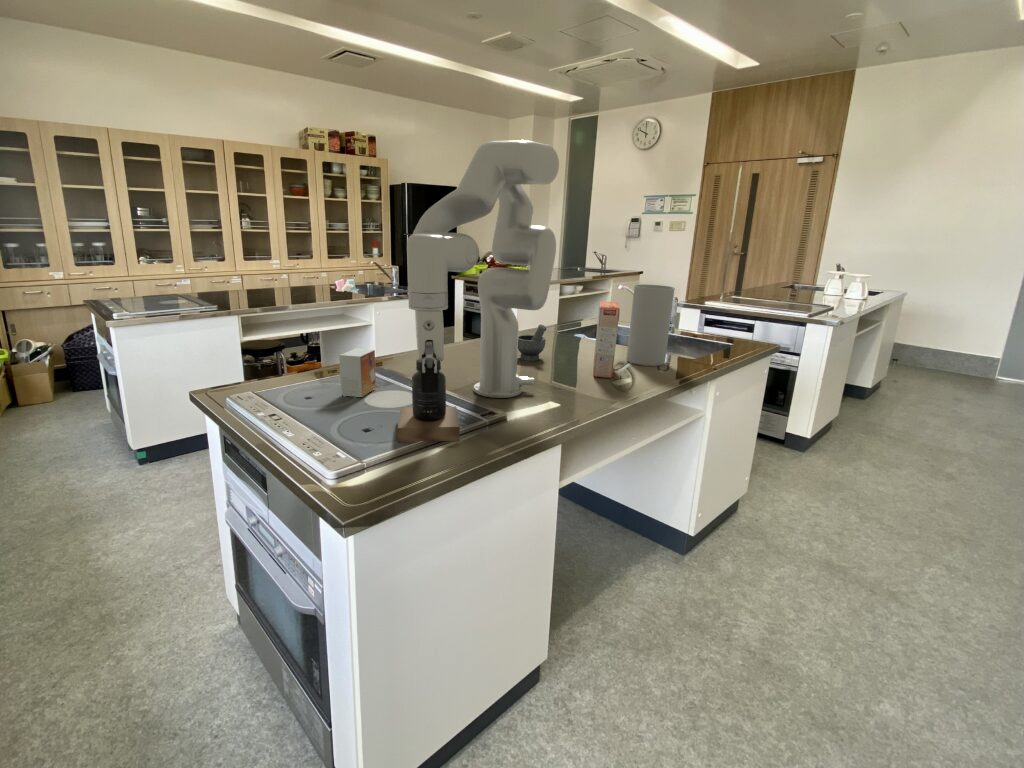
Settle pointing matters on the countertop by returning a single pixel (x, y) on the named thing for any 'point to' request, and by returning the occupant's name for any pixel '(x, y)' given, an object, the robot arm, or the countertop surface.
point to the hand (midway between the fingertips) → (429, 384)
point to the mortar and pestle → (532, 344)
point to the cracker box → (606, 339)
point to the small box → (357, 372)
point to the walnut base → (428, 427)
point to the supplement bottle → (428, 397)
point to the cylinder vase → (650, 324)
